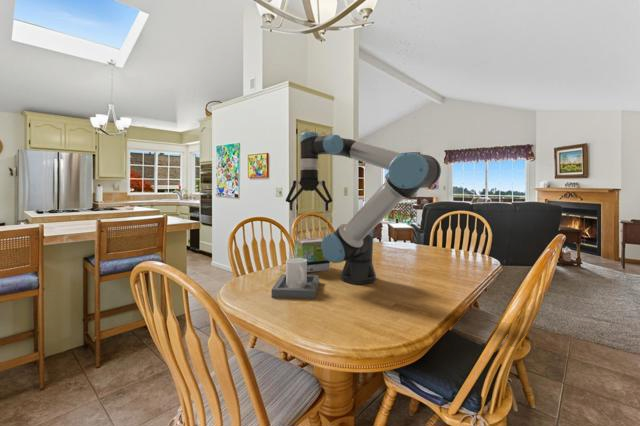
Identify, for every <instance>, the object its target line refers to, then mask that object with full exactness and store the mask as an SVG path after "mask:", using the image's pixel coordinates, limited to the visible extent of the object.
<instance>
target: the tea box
mask: <svg viewBox="0 0 640 426" xmlns="http://www.w3.org/2000/svg"><path fill="white" fill-rule="evenodd" d="M323 238H324V237H323ZM323 238H322V237H317V238H315V237H314V238H299V239H294V248H293V250H294V251H293V252H294V253H293V255H294V256H293V258H303V259H306V260H307V273H313V272H314V273H315V272H325V271H330V266H331V265H330V264H331V262H329V261H328V260H327V259H326V258H325V256H324V255H323V252H322V246H321V244H322V240H323Z"/></svg>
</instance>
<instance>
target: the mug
mask: <svg viewBox="0 0 640 426" xmlns="http://www.w3.org/2000/svg"><path fill="white" fill-rule="evenodd" d="M285 274H286V285H287V286H288V287H289V288H303V287H305V286H306V285H307V275H308V272H307V260H306V259H303V258H294V257H292V258H287V259H286V260H285Z"/></svg>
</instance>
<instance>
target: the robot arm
mask: <svg viewBox="0 0 640 426" xmlns="http://www.w3.org/2000/svg"><path fill="white" fill-rule="evenodd" d="M299 144H300V169H301V170H300V179H299V180H293V182H292V186H291V188H290V190H289V193H288V195H287V196H286V198H285V202H287V203H289V210H290V211H292V212H291V213H292V214H291V215H292V216H291V218H292V219H296V202H295V200H297V198H298V197H299V196H300V194H302V193H303V191H305V192H308V191H310V192H311V191H312V192H313V191H315V192H316V193H317V195H318V196H319V197H320V198H321V199H322V200H323V202H324V203H323V219H324V220H325V219H326V213H327V212H328V211H329V204H330V203H332V202H333V198H332V195H331V194H330V192H329V190H328V188H327V186H326V181H325V180H321V181H319V170H318V169H319V155H321V156H322V155H331V156H341V157H345V158H349V159H352V160H356V161H358V162H361V163H364V164H365V163H366V164H368V165H371V166H374V167H377V168H380V169H384V170H387V171H388V172H387V173H386V174H385V175H384V183H383V184H382V185H381V186H380V187H379V188H378V189H377V190H376V192H375V193H374V194H373V195H372V196H371V197H370V198H369V199H368V200H367V202H366V203H365V204H364V205H363V206H361V208H360V209H359V210H358V211H357V212H356V213H355V215H353V217H352V218H351V219H350V220H349V221H348V222H347V223H342V224H340V225H339V226H338V227H337V229H336V230H335V231H334V232H333V233H329V234H326V235H325V236H324V237H323V240H322V244H321V246H322V252H323V255H324V256H325V258H326V259H327V260H328V261H329V262H330V263H332V264H340V263H342V262H344V265H343V268H342V271H341V275H340V277H341V278H340V279H341V281H343V282H345V283H348V284H352V285H353V284H354V285H367V284H368V285H369V284H373V283H375V282H376V281H377V280H376V279H377V274H376V271H375V268H374V265H373V264H374V263H373V252H374V251H373V250H374V249H373V248H374V247H373V245H374V242H373V241H374V234H373V232H374V231H373V230H374V228H375V229H376V226H378V225H379V224H380V223H381V222H382V221H383V220H384V219H385V218H386V217H387V216H388V215H389V213H391V212H392V211H393V210H394V209H395V208H396V207H397V206H398V205H399V204H400V203H401V202H402V201H403V200H407V199H409V200H410V199H411V198H412V197H413V196H414V195H415V194H416V193H417V192H418V191H419V190H420V189H422V188H423V189H425V188H429V187H432V186H433V185H435V184H436V183H437V182H438V181H439V179H440V177H441V174H442V168H441V164H440V162H439V161H438V160H437V159H436V158H435V157H434V156H432V155H428V154H422V153H419V152H414V151H409V152H402V153H401V152H397V151H393V150H390V149H386V148H384V147H383V148H382V147H379V146H375V145H371V144H369V143H364V142H361V141H356V140H354V139H351V138H345V137H344V138H343V137H341V136H340V135H338V134H327V135H320V136H319V133H318V132H316V131H315V132H314V131H313V132H312V131H304V132H302V133H301V135H300V142H299ZM298 185H300V188H299V190H297V192H296V193H295V194H294V192H295V189H296V187H298ZM319 185H320V186H322V189H323V191H324V192H325V194H326V196H327V198H328V199H327V198H326V197H325V195H324V194H323V193H322V192H321V191H320V189H319V188H318V186H319ZM293 194H294V195H293ZM292 195H293V197H292ZM291 197H292V198H291Z"/></svg>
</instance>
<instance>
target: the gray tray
mask: <svg viewBox="0 0 640 426" xmlns="http://www.w3.org/2000/svg"><path fill="white" fill-rule="evenodd" d="M319 283H320V275H319V274H317V275H316V274H307V285H306V286H305V287H303V288H289V287H288V286H287V285H286V273H285V274H283V273H281V275H280V276H279V278H278V279H277V280H276V281H275V283H274V284H273V287H272V288H271V298H277V299H279V298H283V299H285V298H286V299H287V298H288V299H309V300H310V299H314V300H316V296H317V292H318V287H319Z"/></svg>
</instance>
